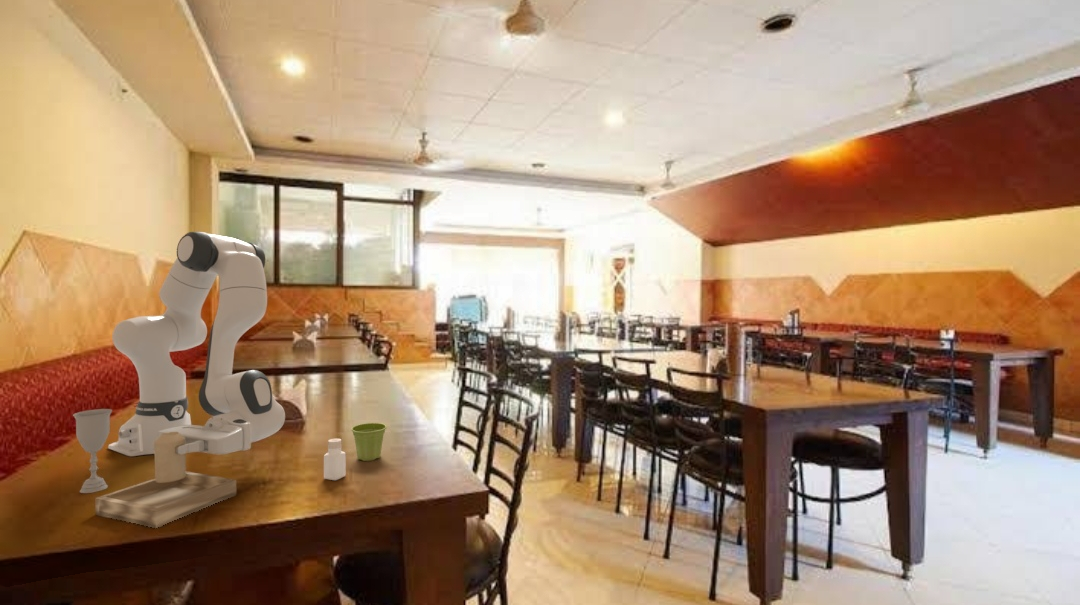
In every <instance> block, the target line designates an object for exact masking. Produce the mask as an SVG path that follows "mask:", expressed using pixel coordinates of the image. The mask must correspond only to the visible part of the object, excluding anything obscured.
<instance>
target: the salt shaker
mask: <svg viewBox="0 0 1080 605" xmlns="http://www.w3.org/2000/svg"><path fill="white" fill-rule="evenodd" d="M342 441H343V440H342V439H341V438H330V439H328V440H327V450H328V451H327V452H326V453H325V454H324V455H323V478H324V480H330V481H331V480H332V481H338V480H340V479H342V478H344V477H345V476H346V474H347V472H346V470H347V464H346V463H347V461H346V460H347V459H346V458H347V456H346V455H347V453H346V452H345V451H342V447H343V446H342Z"/></svg>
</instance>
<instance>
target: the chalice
mask: <svg viewBox="0 0 1080 605" xmlns="http://www.w3.org/2000/svg"><path fill="white" fill-rule="evenodd" d="M112 412H113V409H111V408H99V409H98V408H97V409H89V410H82V411H79V412H75V413H73V414H72V416H73V417H74V419H75V433H76V434H75V437H76V438H77V440H78V443H79V444H80V445H81V447H82V448H83V450H84V451H85V453H89V454H90V459H89V461H88V462H89V463H90V468H88V471H90V477H89V478H87V479H85V480H84V482H83V484H82V486H81V489H80V490H79V493H81V494H92V493H96V492H99V491H100V492H101V491H104V490H106V489H108V487H109V485H108V484H107V482H106V481H105V479H104V478H103V477H101V476H99V475H98V474H97V470H98V469H99V467H98V465H97V462H98V460H99V459H98V457H97V453H98V451H101V450H102V449H103V447H104V445H105V443H106V441H107V440H108V436H109V435H110V431H111V430H110V429H111V426H110V420H111V419H110V416H111V414H112Z"/></svg>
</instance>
